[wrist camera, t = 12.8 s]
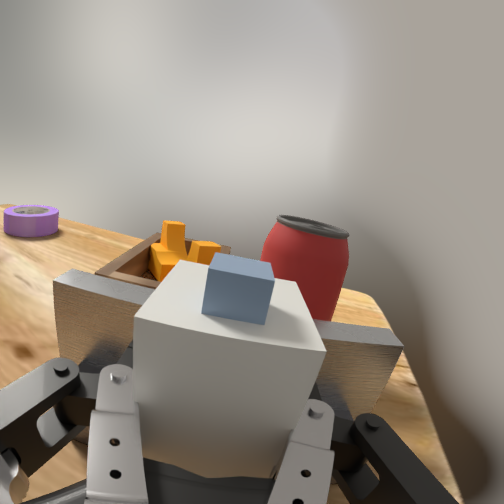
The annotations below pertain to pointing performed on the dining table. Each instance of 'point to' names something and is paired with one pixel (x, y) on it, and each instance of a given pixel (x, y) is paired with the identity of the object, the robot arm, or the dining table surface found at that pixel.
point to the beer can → (309, 260)
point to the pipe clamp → (177, 250)
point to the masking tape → (31, 220)
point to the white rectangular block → (223, 366)
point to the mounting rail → (133, 296)
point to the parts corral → (139, 263)
